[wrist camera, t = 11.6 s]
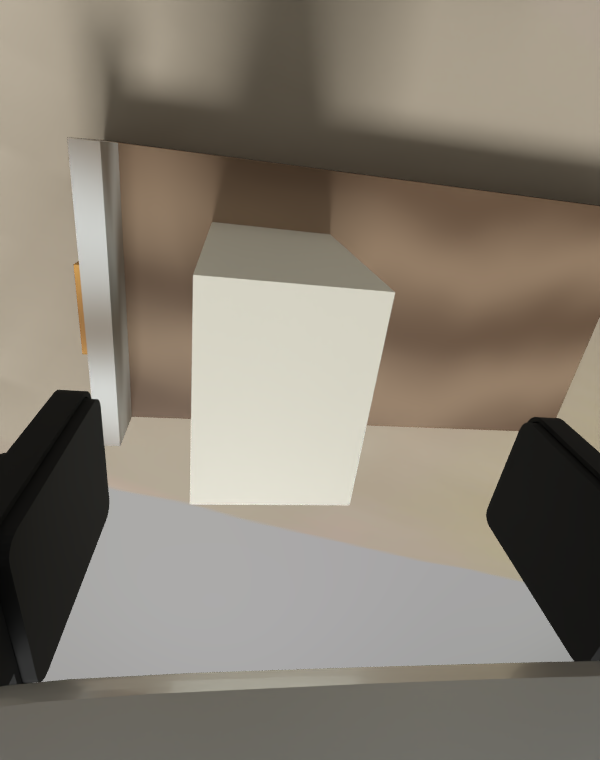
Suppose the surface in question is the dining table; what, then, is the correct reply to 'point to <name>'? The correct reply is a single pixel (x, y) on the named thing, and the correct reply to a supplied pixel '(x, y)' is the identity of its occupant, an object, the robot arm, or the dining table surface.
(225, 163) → the shelf board
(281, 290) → the carton
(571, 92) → the dining table surface
